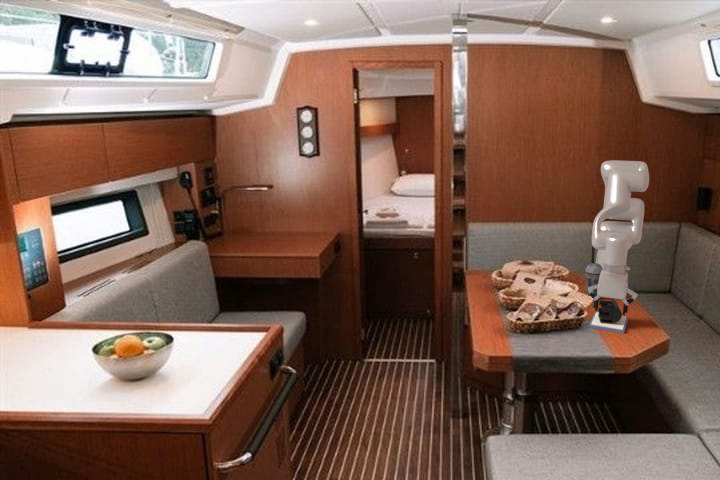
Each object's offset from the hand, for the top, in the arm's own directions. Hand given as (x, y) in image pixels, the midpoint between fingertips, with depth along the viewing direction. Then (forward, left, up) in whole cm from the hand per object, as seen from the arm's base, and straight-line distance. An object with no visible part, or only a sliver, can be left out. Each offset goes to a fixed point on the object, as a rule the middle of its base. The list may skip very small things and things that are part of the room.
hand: (610, 312), depth 219 cm
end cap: (0, 0, -3) cm, 3 cm away
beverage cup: (-29, -10, -5) cm, 31 cm away
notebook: (0, 0, -5) cm, 5 cm away
